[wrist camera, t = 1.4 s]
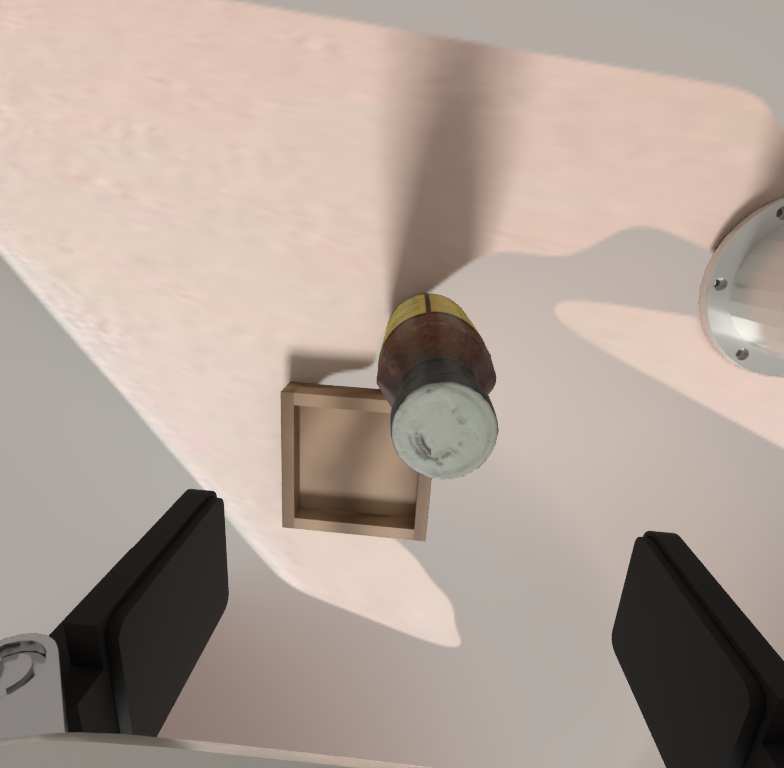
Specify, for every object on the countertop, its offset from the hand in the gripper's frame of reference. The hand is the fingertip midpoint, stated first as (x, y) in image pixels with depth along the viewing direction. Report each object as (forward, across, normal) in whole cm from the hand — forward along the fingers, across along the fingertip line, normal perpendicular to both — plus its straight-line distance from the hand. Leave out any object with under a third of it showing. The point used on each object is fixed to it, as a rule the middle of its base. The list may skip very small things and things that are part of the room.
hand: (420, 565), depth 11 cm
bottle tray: (+27, +5, +11) cm, 30 cm away
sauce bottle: (+27, 0, 0) cm, 27 cm away
